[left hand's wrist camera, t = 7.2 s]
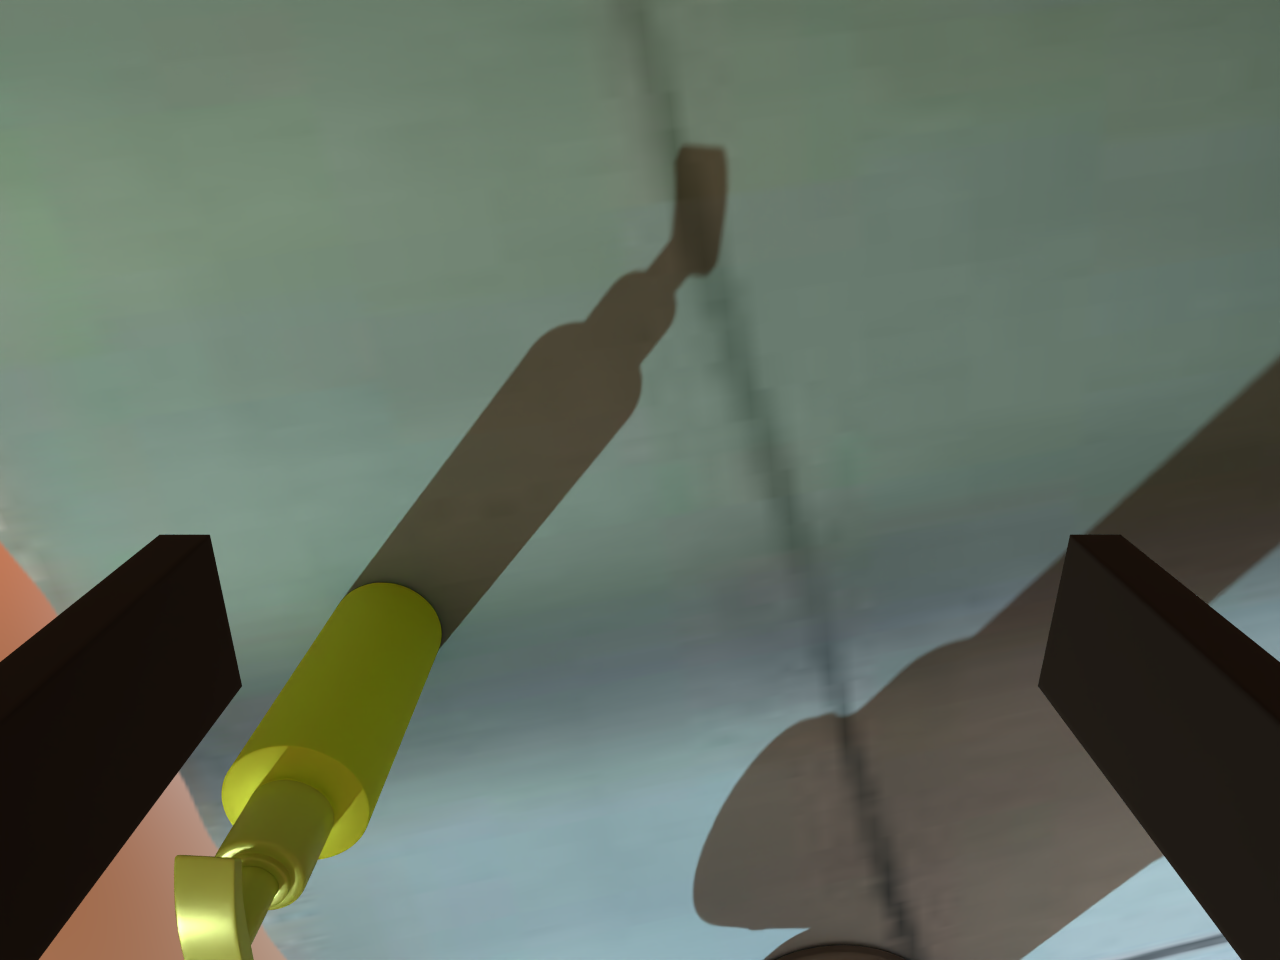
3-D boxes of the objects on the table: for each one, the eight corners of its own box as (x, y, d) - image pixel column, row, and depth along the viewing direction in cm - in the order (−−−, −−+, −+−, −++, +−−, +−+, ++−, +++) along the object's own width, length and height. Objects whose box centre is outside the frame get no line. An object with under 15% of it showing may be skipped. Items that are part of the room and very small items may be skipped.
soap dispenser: (440, 568, 44) (293, 875, 25) (443, 677, 46) (311, 1029, 28) (329, 561, 44) (99, 865, 25) (337, 671, 46) (134, 1021, 28)
